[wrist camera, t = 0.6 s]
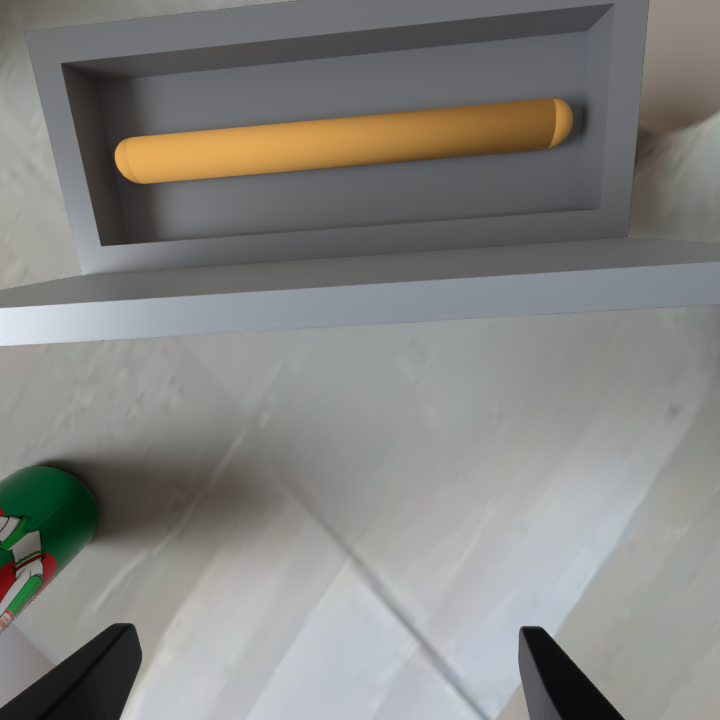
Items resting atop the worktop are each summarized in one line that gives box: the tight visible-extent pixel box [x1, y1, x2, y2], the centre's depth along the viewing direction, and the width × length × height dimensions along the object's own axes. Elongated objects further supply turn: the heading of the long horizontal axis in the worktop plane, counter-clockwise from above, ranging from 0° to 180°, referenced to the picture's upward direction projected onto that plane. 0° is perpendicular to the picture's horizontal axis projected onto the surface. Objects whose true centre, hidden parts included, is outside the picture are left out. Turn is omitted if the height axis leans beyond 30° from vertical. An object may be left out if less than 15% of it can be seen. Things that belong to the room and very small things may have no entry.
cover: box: [0, 237, 720, 346], centre depth 12 cm, size 20×8×1 cm
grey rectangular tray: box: [25, 0, 649, 275], centre depth 16 cm, size 20×8×2 cm, turn 94°
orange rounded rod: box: [115, 98, 573, 184], centre depth 16 cm, size 17×2×2 cm, turn 94°
